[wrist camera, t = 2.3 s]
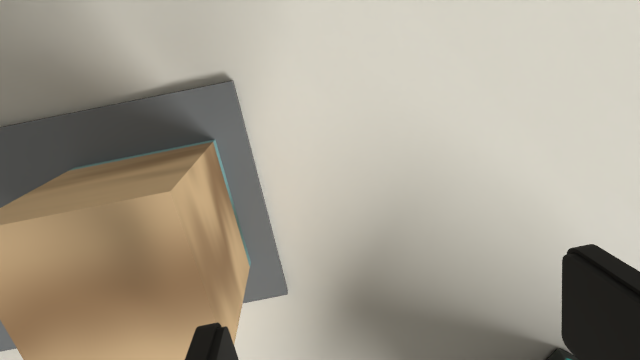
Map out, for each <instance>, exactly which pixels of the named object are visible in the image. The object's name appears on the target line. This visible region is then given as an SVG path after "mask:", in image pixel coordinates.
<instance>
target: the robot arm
mask: <svg viewBox="0 0 640 360" xmlns="http://www.w3.org/2000/svg"><path fill="white" fill-rule="evenodd" d="M562 338H563V341H564V343H565V345H566V346H567V348H568V349H569V350H570V351H571V352H572V353H573V354H574V355H575V356H576V357H577V358H578V359H579V360H640V272H639V271H638V270H636V269H634V268H633V267H631V266H629V265H628V264H626V263H624V262H623V261H621V260H619V259H618V258H616V257H614V256H613V255H611V254H609V253H608V252H606V251H604V250H603V249H601V248H600V247H598V246H596V245H594V244H589V245H584V246H579V247H575V248H571V249H569V250H568V252H567V255H565V256H564V257H563V260H562ZM185 360H238V357H237V354H236V350H235V347H234V344H233V341H232V338H231V335H230V332H229V329H228V327H227V326H225V327H221V325H220V323H218V322H217V323H212V324H207V325H202V326H198V327H197V328H196V330H195V332H194V335H193V338H192V341H191V344H190V346H189V349H188V352H187V355H186V358H185Z"/></svg>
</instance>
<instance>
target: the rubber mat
mask: <svg viewBox="0 0 640 360" xmlns="http://www.w3.org/2000/svg"><path fill="white" fill-rule="evenodd" d="M210 140H215V141H216V144H217V148H218V151H219V154H220V158H221V161H222V165H223V168H224V172H225V175H226V178H227V182H228V185H229V189H230V192H231V196H232V199H233V203H234V206H235V209H236V213H237V216H238V220H239V223H240V227H241V230H242V233H243V237H244V240H245V244H246V247H247V251H248V254H249V258H250V261H251V264H250V269H249V274H248V279H247V283H246V288H245V293H244V298H243V303H247V302H252V301H257V300H262V299H267V298H272V297H277V296H282V295H287V294H288V290H287V286H286V282H285V278H284V274H283V270H282V266H281V263H280V259H279V255H278V251H277V247H276V243H275V239H274V236H273V232H272V228H271V224H270V220H269V216H268V213H267V209H266V205H265V201H264V197H263V193H262V189H261V186H260V182H259V178H258V174H257V170H256V166H255V163H254V159H253V155H252V151H251V147H250V143H249V139H248V136H247V132H246V128H245V124H244V120H243V116H242V113H241V109H240V105H239V101H238V97H237V93H236V89H235V86H234V82H233V81H228V82H223V83H218V84H213V85H208V86H203V87H198V88H193V89H188V90H183V91H178V92H174V93H169V94H164V95H159V96H154V97H149V98H144V99H139V100H134V101H129V102H124V103H119V104H114V105H109V106H104V107H99V108H94V109H89V110H84V111H79V112H74V113H69V114H64V115H59V116H54V117H49V118H44V119H39V120H34V121H29V122H24V123H19V124H14V125H9V126H4V127H0V208H1V207H3V206H5V205H7V204H9V203H10V202H12V201H14V200H16V199H18V198H20V197H21V196H23V195H25V194H27V193H29V192H31V191H32V190H34V189H36V188H38V187H40V186H41V185H43V184H45V183H47V182H49V181H51V180H52V179H54V178H56V177H58V176H60V175H62V174H63V173H65V172H67V171H69V170H71V169H73V168H75V167H80V166H85V165H90V164H95V163H100V162H105V161H110V160H115V159H120V158H125V157H130V156H135V155H140V154H145V153H150V152H155V151H160V150H165V149H170V148H175V147H180V146H185V145H190V144H195V143H200V142H205V141H210ZM16 348H17V347H16V346H15V344H14V342H13V341H12V339H11V337H10V336H9V334H8V332H7V330H6V329H5V327H4V325H3V324H2V322H1V320H0V351H5V350H11V349H16Z"/></svg>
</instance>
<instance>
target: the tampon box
mask: <svg viewBox="0 0 640 360" xmlns="http://www.w3.org/2000/svg"><path fill="white" fill-rule="evenodd" d="M548 360H579V359H578V358H577V357H576V356H574V355H572V354H570V353H568V352H566V351H564V350H562V349H557V350H556V351H555V352H554V353H553V354H552V355H551V356H550V357H549V359H548Z"/></svg>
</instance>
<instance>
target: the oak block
mask: <svg viewBox="0 0 640 360" xmlns="http://www.w3.org/2000/svg"><path fill="white" fill-rule="evenodd" d="M250 264H251V261H250V258H249V254H248V251H247V247H246V244H245V240H244V237H243V233H242V230H241V227H240V223H239V220H238V216H237V213H236V209H235V206H234V203H233V199H232V196H231V192H230V189H229V185H228V182H227V178H226V175H225V172H224V168H223V165H222V161H221V158H220V154H219V151H218V148H217V144H216V141H215V140H210V141H205V142H200V143H195V144H190V145H185V146H180V147H175V148H170V149H165V150H160V151H155V152H150V153H145V154H140V155H135V156H130V157H125V158H120V159H115V160H110V161H105V162H100V163H95V164H90V165H85V166H80V167H75V168H73V169H71V170H69V171H67V172H65V173H63V174H62V175H60V176H58V177H56V178H54V179H52V180H51V181H49V182H47V183H45V184H43V185H41V186H40V187H38V188H36V189H34V190H32V191H31V192H29V193H27V194H25V195H23V196H21V197H20V198H18V199H16V200H14V201H12V202H10V203H9V204H7V205H5V206H3V207H1V208H0V320H1V322H2V324H3V325H4V327H5V329H6V330H7V332H8V334H9V336H10V337H11V339H12V341H13V342H14V344H15V346H16V347H17V349H18V351H19V353H20V354H21V356H22V358H23V359H24V360H185V358H186V355H187V352H188V349H189V346H190V344H191V341H192V338H193V335H194V332H195V330H196V328H197V327H198V326H202V325H207V324H212V323H217V322H218V323H220V325H221V327H225V326H227V327H228V329H229V332H230V335H231V338H232V341H233V344H234V342H235V337H236V332H237V328H238V323H239V318H240V313H241V308H242V303H243V298H244V293H245V288H246V283H247V279H248V274H249V269H250Z"/></svg>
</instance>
